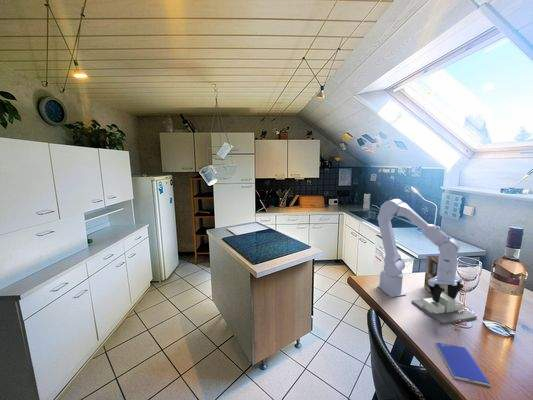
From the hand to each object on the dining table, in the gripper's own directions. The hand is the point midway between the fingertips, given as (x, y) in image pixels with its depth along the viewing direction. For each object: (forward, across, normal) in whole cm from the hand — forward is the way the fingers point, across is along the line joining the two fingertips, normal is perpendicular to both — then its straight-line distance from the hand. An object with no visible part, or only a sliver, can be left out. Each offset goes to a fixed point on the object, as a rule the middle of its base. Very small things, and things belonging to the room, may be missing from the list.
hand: (443, 299), depth 91 cm
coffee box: (+5, +10, +12) cm, 16 cm away
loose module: (+3, 0, 0) cm, 3 cm away
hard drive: (+5, -18, -22) cm, 29 cm away
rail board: (+5, 0, 0) cm, 5 cm away
